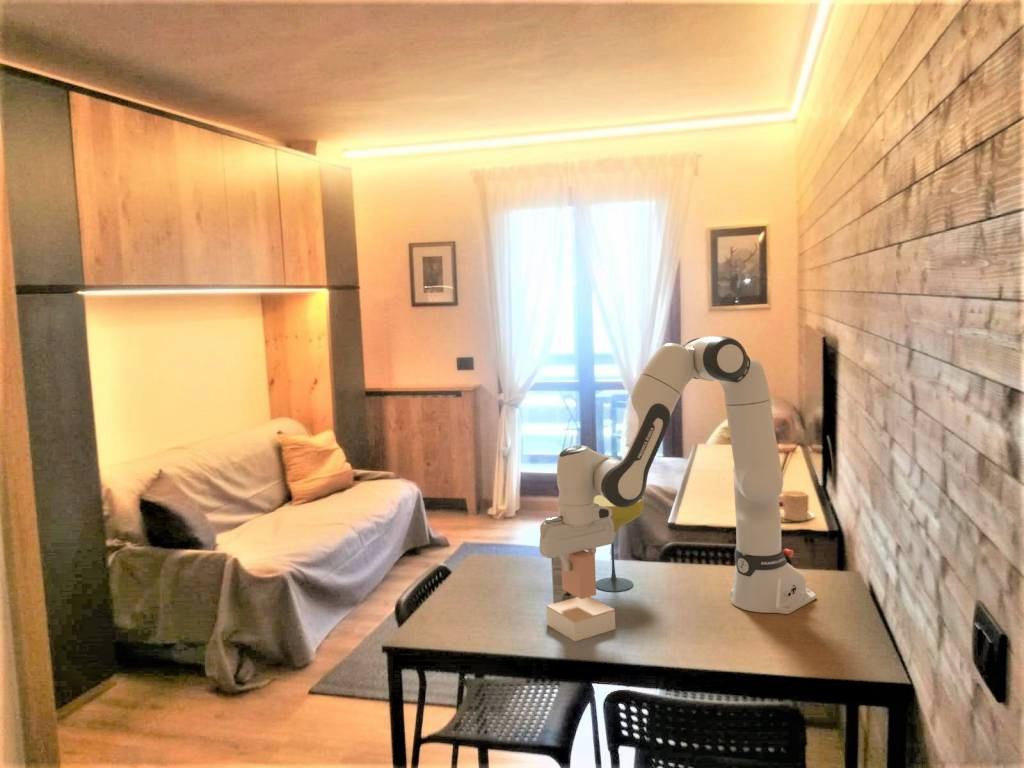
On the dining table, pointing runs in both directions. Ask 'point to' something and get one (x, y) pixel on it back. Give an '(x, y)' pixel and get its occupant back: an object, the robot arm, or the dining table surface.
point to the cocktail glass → (619, 519)
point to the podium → (580, 618)
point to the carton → (580, 575)
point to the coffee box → (558, 582)
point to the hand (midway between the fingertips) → (578, 568)
